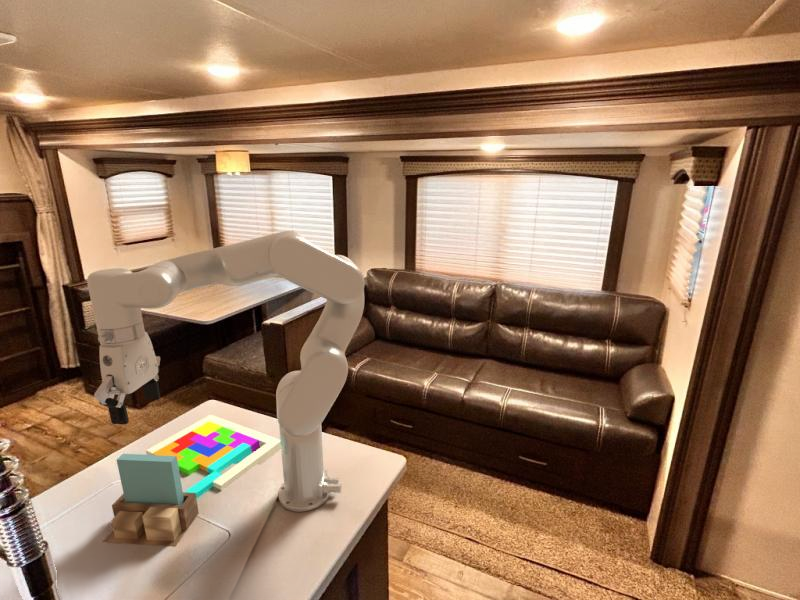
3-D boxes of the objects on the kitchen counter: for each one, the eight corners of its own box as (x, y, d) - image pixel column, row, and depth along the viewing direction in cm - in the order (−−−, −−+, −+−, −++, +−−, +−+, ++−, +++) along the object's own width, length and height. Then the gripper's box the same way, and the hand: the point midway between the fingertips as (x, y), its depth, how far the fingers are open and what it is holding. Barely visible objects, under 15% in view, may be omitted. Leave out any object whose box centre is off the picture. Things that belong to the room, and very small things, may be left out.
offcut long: (181, 531, 90) (177, 508, 88) (174, 541, 87) (170, 517, 86) (154, 529, 90) (150, 506, 89) (146, 539, 88) (142, 516, 86)
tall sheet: (186, 517, 94) (176, 455, 89) (181, 524, 92) (171, 461, 87) (135, 514, 94) (123, 453, 90) (129, 521, 92) (116, 459, 88)
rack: (199, 516, 95) (195, 492, 93) (176, 550, 86) (171, 524, 85) (132, 513, 96) (127, 489, 94) (102, 545, 87) (96, 520, 86)
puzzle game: (211, 422, 134) (113, 479, 108) (210, 414, 133) (111, 469, 107) (282, 449, 120) (189, 521, 94) (282, 440, 119) (187, 510, 94)
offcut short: (145, 529, 90) (142, 512, 89) (137, 539, 88) (134, 521, 87) (123, 528, 91) (120, 511, 89) (115, 537, 88) (111, 520, 87)
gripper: (106, 349, 73) (124, 435, 77) (167, 318, 89) (179, 390, 94) (66, 348, 73) (87, 433, 78) (134, 318, 90) (147, 389, 95)
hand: (137, 410), depth 86 cm, fingers open, 9 cm apart
